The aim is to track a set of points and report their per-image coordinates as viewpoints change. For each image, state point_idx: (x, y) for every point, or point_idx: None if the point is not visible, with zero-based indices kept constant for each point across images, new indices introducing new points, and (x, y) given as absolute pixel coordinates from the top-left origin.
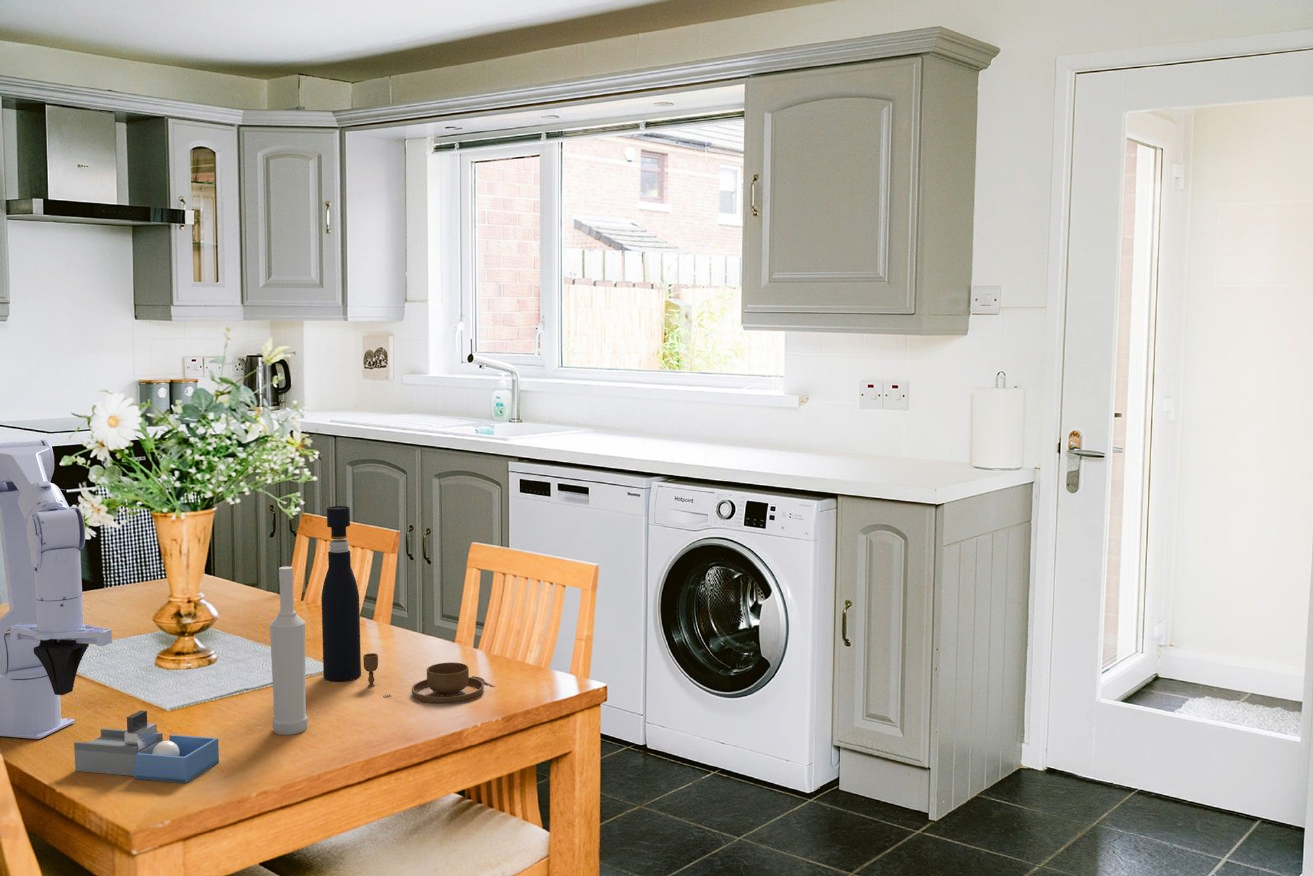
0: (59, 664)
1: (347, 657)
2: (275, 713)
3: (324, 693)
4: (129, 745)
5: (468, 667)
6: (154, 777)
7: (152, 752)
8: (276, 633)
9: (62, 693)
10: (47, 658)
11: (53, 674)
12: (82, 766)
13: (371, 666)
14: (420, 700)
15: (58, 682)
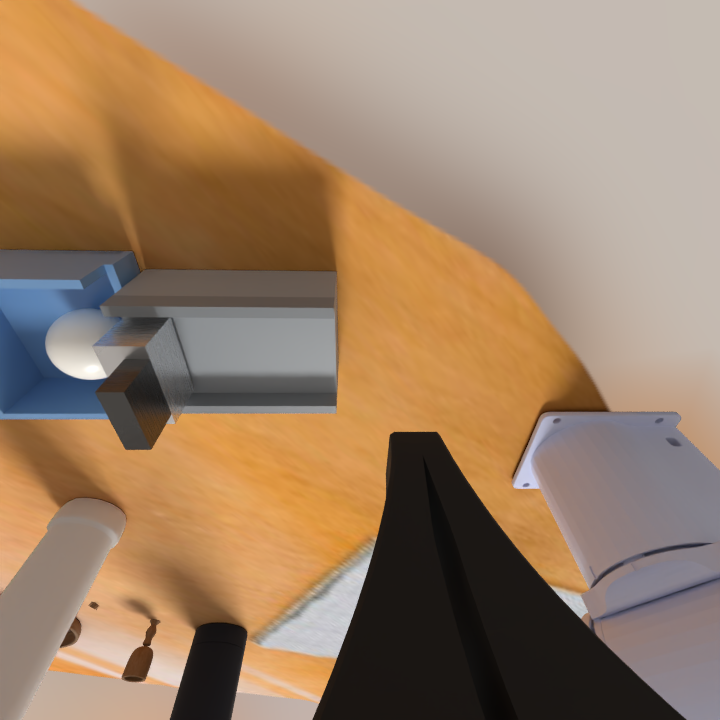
0: (394, 612)
1: (187, 669)
2: (82, 538)
3: (192, 601)
4: (146, 323)
5: None
6: (61, 253)
7: (105, 330)
8: None
9: (393, 439)
10: (522, 672)
11: (449, 526)
12: (312, 276)
13: (131, 657)
14: None
15: (412, 482)
